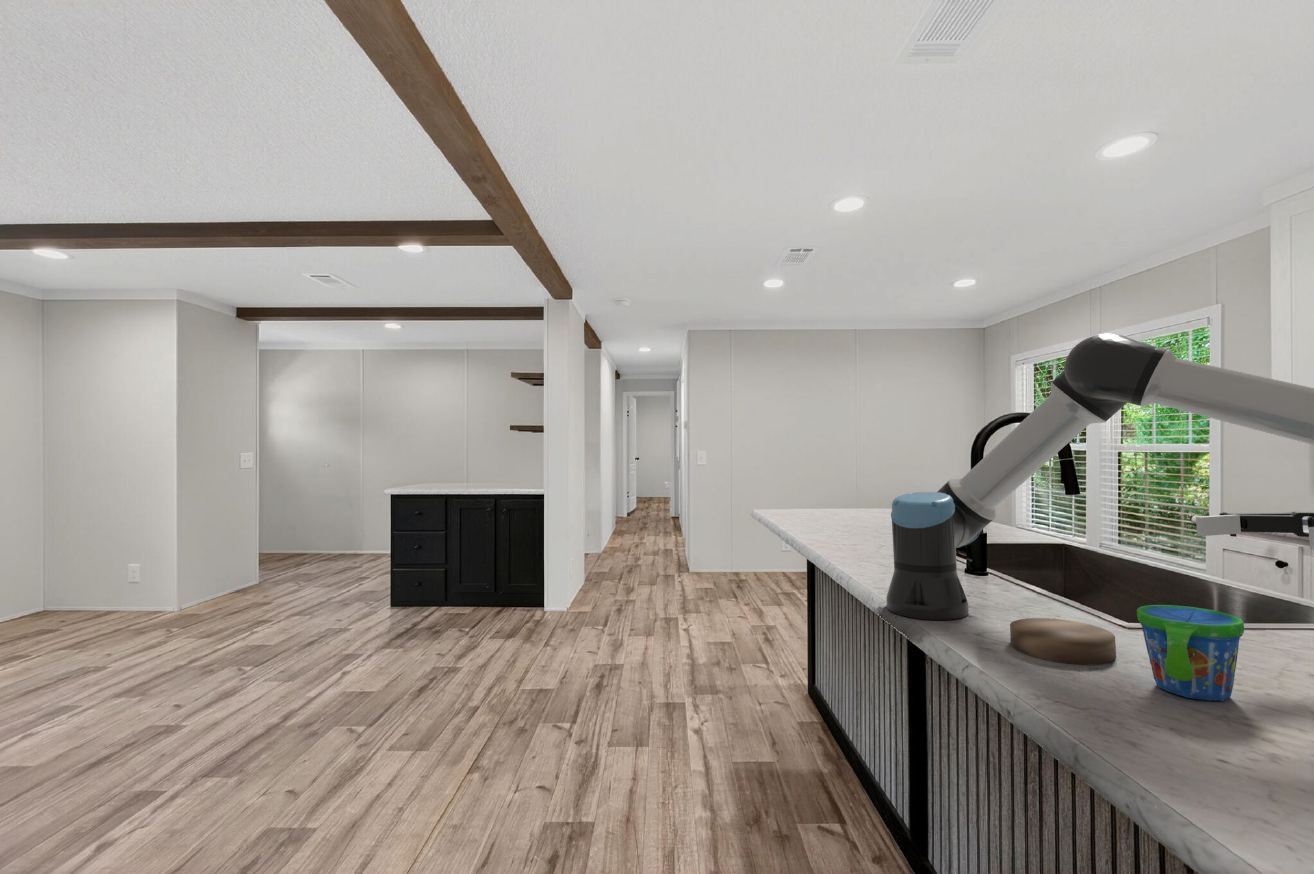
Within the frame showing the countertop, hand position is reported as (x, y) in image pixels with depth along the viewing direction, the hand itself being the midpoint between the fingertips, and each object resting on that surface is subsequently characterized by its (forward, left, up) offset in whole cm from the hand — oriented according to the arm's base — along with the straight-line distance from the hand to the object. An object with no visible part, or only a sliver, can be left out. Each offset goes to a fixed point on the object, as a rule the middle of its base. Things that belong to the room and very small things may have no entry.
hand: (1250, 532), depth 80 cm
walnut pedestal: (-18, -13, -20) cm, 30 cm away
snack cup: (0, -11, -21) cm, 23 cm away
